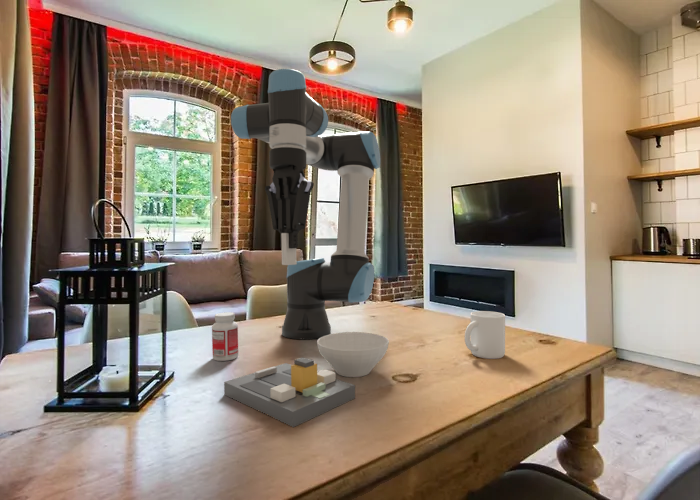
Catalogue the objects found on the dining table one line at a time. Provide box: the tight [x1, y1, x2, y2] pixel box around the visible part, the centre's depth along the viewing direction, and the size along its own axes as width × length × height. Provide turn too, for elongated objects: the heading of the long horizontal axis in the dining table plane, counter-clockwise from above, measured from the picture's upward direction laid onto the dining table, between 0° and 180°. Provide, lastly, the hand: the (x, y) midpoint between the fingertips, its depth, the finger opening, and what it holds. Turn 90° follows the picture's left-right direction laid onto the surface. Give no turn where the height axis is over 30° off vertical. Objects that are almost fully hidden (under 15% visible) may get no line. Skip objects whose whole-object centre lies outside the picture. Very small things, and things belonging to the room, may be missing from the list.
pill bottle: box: [211, 311, 239, 362], centre depth 100 cm, size 6×6×11 cm
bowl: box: [316, 331, 390, 378], centre depth 89 cm, size 16×16×7 cm
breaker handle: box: [290, 357, 318, 393], centre depth 72 cm, size 3×4×5 cm
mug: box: [464, 310, 506, 360], centre depth 100 cm, size 12×8×10 cm
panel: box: [223, 362, 356, 428], centre depth 75 cm, size 20×15×4 cm
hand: (289, 264), depth 83 cm, fingers closed
